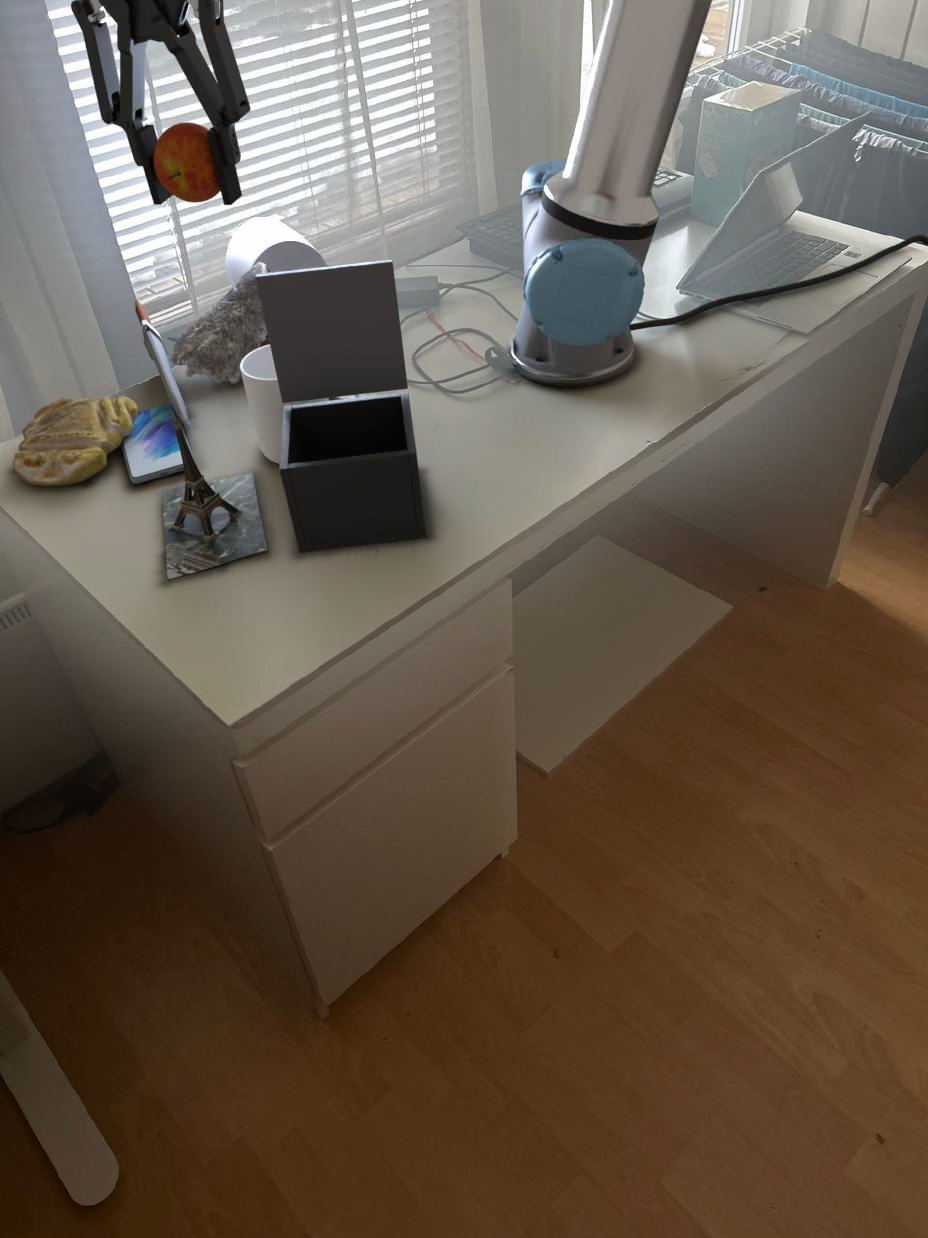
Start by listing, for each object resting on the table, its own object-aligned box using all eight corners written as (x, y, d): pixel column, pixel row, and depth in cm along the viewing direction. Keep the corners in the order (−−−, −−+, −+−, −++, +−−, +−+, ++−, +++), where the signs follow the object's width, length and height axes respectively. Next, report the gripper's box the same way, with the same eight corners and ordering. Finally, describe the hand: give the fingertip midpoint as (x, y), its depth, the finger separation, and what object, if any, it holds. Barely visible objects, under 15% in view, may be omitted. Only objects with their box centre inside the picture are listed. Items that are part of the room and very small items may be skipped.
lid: (392, 261, 83) (392, 259, 84) (255, 276, 83) (256, 274, 83) (408, 388, 91) (407, 385, 91) (282, 403, 90) (282, 399, 91)
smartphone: (130, 480, 99) (114, 417, 109) (133, 487, 100) (116, 424, 110) (195, 461, 101) (173, 401, 111) (197, 468, 101) (175, 407, 112)
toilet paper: (266, 343, 125) (240, 315, 133) (343, 307, 128) (313, 281, 135) (232, 260, 117) (206, 235, 125) (314, 223, 119) (284, 201, 127)
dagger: (188, 451, 108) (142, 332, 126) (206, 445, 108) (157, 327, 127) (166, 406, 103) (122, 289, 121) (185, 399, 103) (138, 284, 122)
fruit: (231, 113, 88) (196, 138, 82) (246, 189, 93) (214, 217, 87) (165, 112, 89) (127, 136, 84) (183, 187, 94) (148, 215, 88)
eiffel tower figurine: (271, 555, 89) (239, 438, 80) (167, 579, 88) (123, 462, 78) (253, 475, 100) (223, 363, 91) (160, 495, 98) (120, 383, 89)
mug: (372, 452, 102) (358, 364, 94) (266, 474, 100) (243, 386, 93) (357, 415, 108) (343, 329, 101) (257, 435, 106) (235, 350, 99)
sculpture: (143, 389, 107) (86, 468, 97) (154, 414, 109) (100, 494, 99) (45, 391, 110) (-20, 468, 100) (58, 415, 112) (-4, 493, 102)
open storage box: (426, 537, 90) (416, 453, 83) (299, 553, 89) (279, 469, 82) (418, 472, 98) (408, 391, 91) (301, 486, 98) (283, 405, 91)
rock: (158, 369, 116) (221, 407, 115) (146, 334, 110) (212, 374, 109) (249, 277, 123) (309, 312, 122) (242, 239, 117) (305, 276, 115)
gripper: (-9, -79, 74) (90, 212, 90) (212, -94, 70) (276, 214, 85) (42, -90, 79) (127, 186, 95) (250, -106, 75) (304, 187, 91)
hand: (197, 199), depth 90 cm, fingers closed on fruit, 7 cm apart
